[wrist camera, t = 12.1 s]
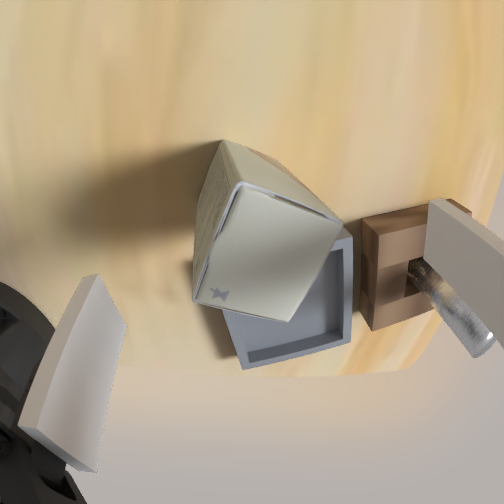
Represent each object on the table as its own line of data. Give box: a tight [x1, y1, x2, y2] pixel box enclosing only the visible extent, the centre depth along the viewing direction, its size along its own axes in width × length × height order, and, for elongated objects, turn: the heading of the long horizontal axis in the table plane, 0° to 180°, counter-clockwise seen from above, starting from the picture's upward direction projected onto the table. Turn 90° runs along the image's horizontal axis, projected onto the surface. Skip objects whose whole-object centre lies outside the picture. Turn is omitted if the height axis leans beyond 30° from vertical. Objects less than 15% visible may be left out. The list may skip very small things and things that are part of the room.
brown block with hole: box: [360, 199, 472, 331], centre depth 25 cm, size 10×10×3 cm
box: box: [192, 140, 344, 322], centre depth 16 cm, size 5×4×11 cm
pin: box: [407, 256, 497, 358], centre depth 21 cm, size 3×3×12 cm
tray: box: [222, 226, 353, 370], centre depth 25 cm, size 11×12×2 cm
